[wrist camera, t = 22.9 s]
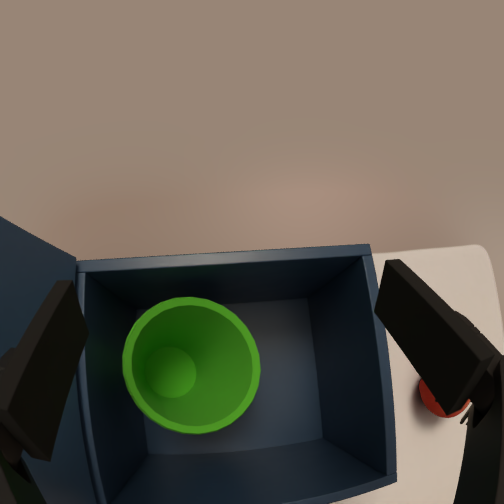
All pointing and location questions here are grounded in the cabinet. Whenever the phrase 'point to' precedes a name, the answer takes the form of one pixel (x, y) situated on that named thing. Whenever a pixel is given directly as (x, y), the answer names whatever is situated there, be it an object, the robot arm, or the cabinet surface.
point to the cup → (191, 365)
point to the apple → (435, 402)
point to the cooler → (270, 383)
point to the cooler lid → (10, 333)
